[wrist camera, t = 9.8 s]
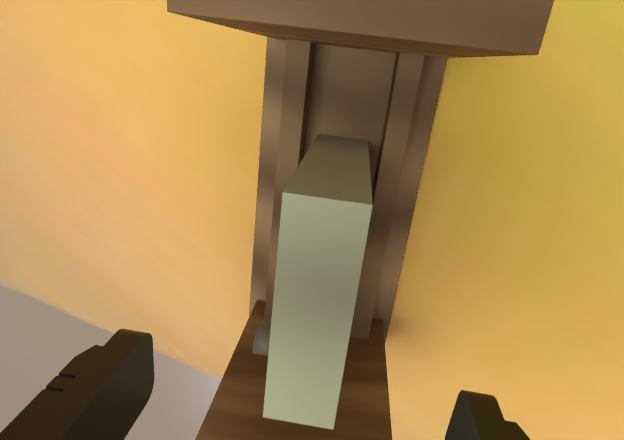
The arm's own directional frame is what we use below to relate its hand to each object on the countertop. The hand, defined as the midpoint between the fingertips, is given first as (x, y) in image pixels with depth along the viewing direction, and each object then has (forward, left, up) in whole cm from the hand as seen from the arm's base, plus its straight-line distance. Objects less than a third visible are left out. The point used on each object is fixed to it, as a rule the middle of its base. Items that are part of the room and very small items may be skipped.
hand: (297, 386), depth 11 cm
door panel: (+1, 0, -17) cm, 17 cm away
